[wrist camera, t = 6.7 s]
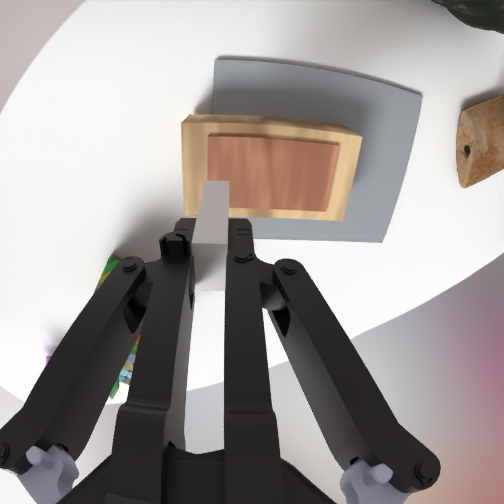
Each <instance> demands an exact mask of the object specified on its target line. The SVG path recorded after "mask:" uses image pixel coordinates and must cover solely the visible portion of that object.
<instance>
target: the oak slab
mask: <svg viewBox="0 0 504 504" xmlns="http://www.w3.org/2000/svg"><path fill="white" fill-rule="evenodd" d="M181 136H182V171H183V192H184V210H185V216H197V214H198V210H199V205H200V201H201V196H202V192H203V188H204V184H205V181H230V187H229V217H263V218H290V219H312V220H331V221H343V219H344V215H345V212H346V208H347V204H348V200H349V196H350V192H351V188H352V183H353V179H354V175H355V170H356V166H357V161H358V156H359V152H360V147H361V142H362V136H360V135H359V134H357V133H356V132H354V131H353V130H351V129H350V128H348V127H346V126H343V125H337V124H331V123H324V122H317V121H309V120H300V119H291V118H281V117H268V116H253V115H226V114H192V115H189V116H188V117H187V118H186V119H185V120H184V121H183V122H182V123H181Z"/></svg>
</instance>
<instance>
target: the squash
mask: <svg viewBox="0 0 504 504" xmlns="http://www.w3.org/2000/svg"><path fill="white" fill-rule="evenodd" d="M432 1H433V2H435V3H436V4H439V5H442V6H444V7H446V8H447V9H448V10H449V11H450V12H451V13H452V14H453V15H454V16H455V17H456V18H457V19H459V20H460V21H462V22H463V23H464V24H466V25H469V26H471V27H474V28H479V29H483V30H494V31H496V32H498V33H502V34H504V0H432Z"/></svg>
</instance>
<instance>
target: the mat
mask: <svg viewBox="0 0 504 504" xmlns="http://www.w3.org/2000/svg"><path fill="white" fill-rule="evenodd" d="M421 101H422V96H420V95H417V94H415V93H412V92H409V91H406V90H403V89H400V88H397V87H394V86H390V85H387V84H384V83H380V82H377V81H373V80H369V79H365V78H361V77H357V76H353V75H349V74H344V73H339V72H334V71H329V70H324V69H318V68H312V67H306V66H299V65H291V64H282V63H272V62H260V61H243V60H215V64H214V86H213V114H226V115H253V116H268V117H281V118H291V119H300V120H309V121H317V122H324V123H331V124H337V125H343V126H346V127H348V128H350V129H351V130H353V131H354V132H356V133H357V134H359V135H360V136H362V142H361V147H360V152H359V156H358V161H357V166H356V170H355V175H354V179H353V183H352V188H351V192H350V196H349V200H348V204H347V208H346V212H345V215H344V219H343V221H331V220H312V219H290V218H263V217H229V218H247V219H248V220H249V221H250V222H251V224H252V233H253V239H283V240H319V241H350V242H377V243H382V242H383V239H384V236H385V234H386V231H387V228H388V225H389V222H390V219H391V216H392V213H393V210H394V207H395V204H396V201H397V198H398V195H399V191H400V188H401V185H402V181H403V178H404V174H405V171H406V167H407V163H408V160H409V156H410V152H411V148H412V144H413V139H414V135H415V131H416V126H417V121H418V117H419V112H420V106H421Z"/></svg>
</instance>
